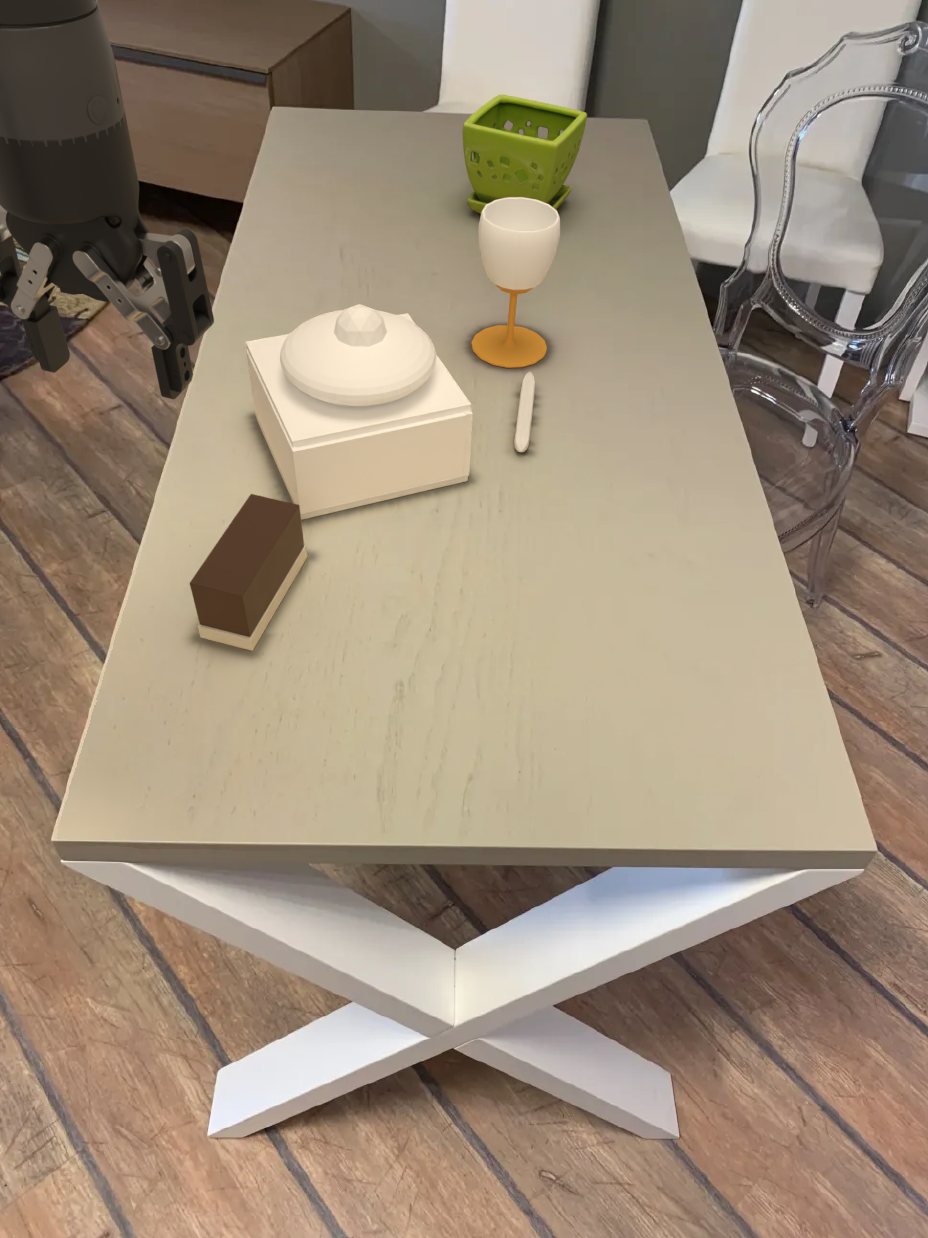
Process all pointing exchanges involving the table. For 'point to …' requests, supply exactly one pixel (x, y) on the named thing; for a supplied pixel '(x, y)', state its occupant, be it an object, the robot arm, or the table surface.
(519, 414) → the cream rounded rod
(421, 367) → the white lidded box
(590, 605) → the table surface
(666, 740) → the table surface
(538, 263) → the cup
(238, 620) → the brown block cream base
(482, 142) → the flower pot
